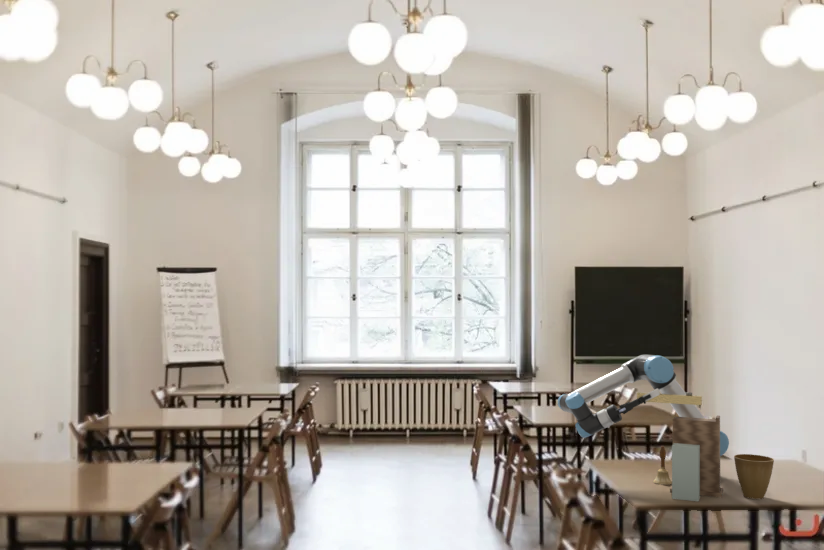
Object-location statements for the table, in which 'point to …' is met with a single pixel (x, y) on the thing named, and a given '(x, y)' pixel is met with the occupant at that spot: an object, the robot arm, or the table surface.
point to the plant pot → (753, 474)
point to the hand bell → (662, 470)
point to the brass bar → (675, 398)
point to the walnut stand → (702, 449)
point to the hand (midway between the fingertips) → (658, 391)
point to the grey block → (686, 472)
